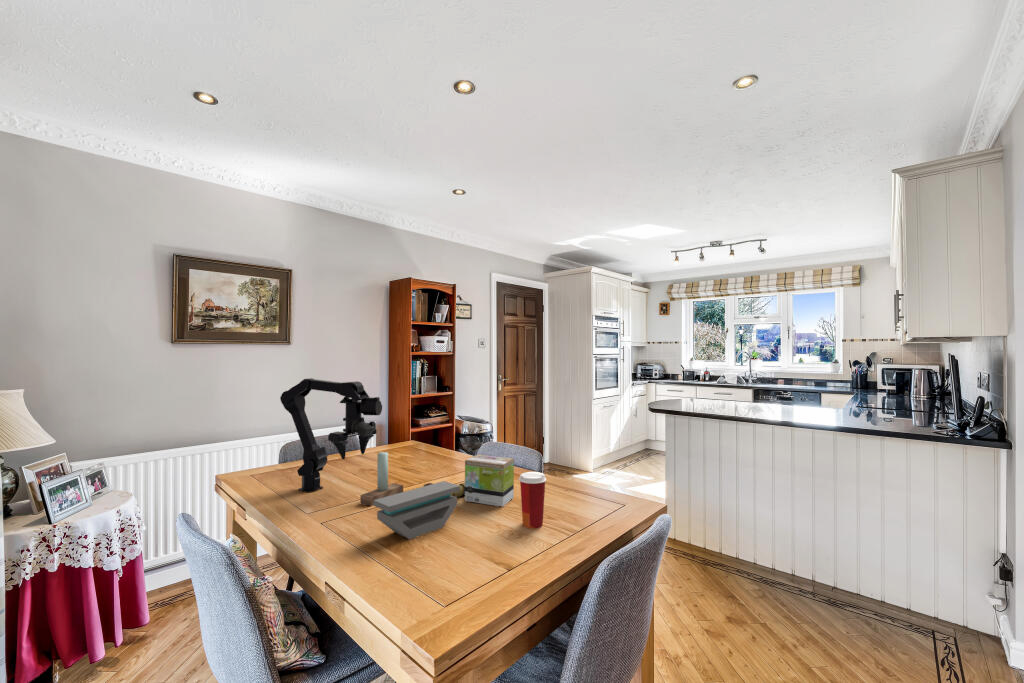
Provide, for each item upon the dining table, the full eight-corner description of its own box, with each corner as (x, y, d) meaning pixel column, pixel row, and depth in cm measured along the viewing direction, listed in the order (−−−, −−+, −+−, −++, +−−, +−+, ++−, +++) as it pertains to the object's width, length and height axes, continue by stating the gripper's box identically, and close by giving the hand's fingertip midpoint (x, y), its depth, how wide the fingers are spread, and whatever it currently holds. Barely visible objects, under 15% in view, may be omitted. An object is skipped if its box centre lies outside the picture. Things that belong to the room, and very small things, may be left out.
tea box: (463, 502, 155) (463, 459, 155) (476, 493, 164) (476, 453, 165) (503, 507, 149) (503, 463, 150) (514, 498, 159) (514, 457, 159)
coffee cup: (549, 521, 137) (549, 472, 137) (542, 531, 129) (542, 479, 130) (523, 518, 140) (523, 470, 140) (515, 528, 132) (514, 477, 132)
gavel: (413, 482, 169) (434, 476, 176) (413, 494, 169) (434, 488, 176) (448, 489, 155) (469, 483, 162) (448, 503, 155) (470, 496, 162)
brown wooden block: (370, 506, 151) (371, 497, 151) (360, 504, 153) (360, 495, 153) (403, 493, 165) (403, 485, 165) (393, 491, 167) (393, 483, 167)
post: (376, 491, 157) (376, 454, 158) (378, 488, 161) (379, 452, 161) (386, 491, 157) (386, 454, 158) (388, 488, 161) (389, 452, 161)
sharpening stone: (389, 547, 119) (389, 506, 119) (373, 539, 124) (373, 500, 125) (459, 521, 137) (459, 485, 138) (443, 515, 143) (443, 480, 143)
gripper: (349, 419, 156) (348, 464, 156) (387, 413, 173) (387, 453, 172) (327, 417, 161) (326, 460, 161) (366, 411, 178) (366, 450, 178)
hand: (353, 456), depth 168 cm, fingers open, 9 cm apart
